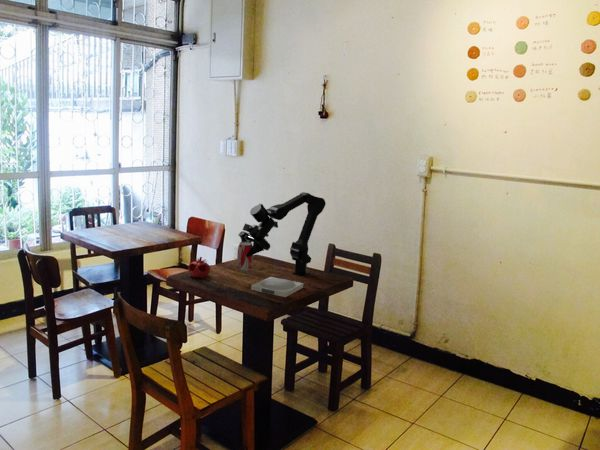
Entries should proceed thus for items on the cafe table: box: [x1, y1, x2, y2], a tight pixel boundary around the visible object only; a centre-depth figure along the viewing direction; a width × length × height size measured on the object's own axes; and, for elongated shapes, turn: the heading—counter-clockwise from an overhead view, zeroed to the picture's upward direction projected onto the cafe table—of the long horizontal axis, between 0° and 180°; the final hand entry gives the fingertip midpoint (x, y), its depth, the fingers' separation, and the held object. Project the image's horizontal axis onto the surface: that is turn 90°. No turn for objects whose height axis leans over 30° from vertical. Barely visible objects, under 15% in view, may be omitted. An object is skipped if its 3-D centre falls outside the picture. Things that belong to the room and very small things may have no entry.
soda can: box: [236, 241, 254, 272], centre depth 237 cm, size 7×7×12 cm
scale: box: [250, 276, 304, 298], centre depth 233 cm, size 17×17×2 cm
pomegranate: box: [188, 256, 211, 279], centre depth 245 cm, size 10×10×9 cm
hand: (242, 254), depth 236 cm, fingers closed on soda can, 7 cm apart
